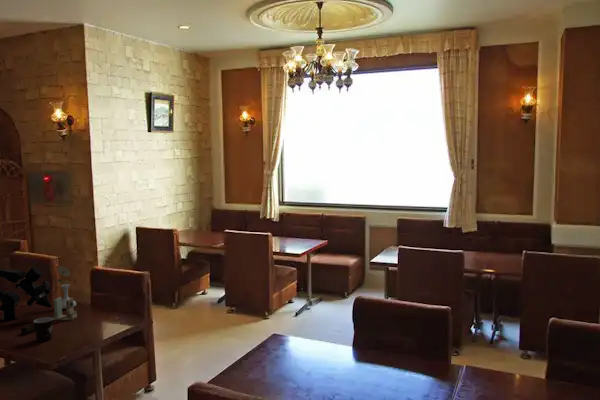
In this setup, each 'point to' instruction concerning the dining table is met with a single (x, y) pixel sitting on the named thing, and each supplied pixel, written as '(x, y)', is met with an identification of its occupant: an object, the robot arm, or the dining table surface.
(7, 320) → the robot arm
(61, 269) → the flower in vase
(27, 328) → the hand tool
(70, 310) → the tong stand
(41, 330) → the coffee mug
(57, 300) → the sliding jaw
